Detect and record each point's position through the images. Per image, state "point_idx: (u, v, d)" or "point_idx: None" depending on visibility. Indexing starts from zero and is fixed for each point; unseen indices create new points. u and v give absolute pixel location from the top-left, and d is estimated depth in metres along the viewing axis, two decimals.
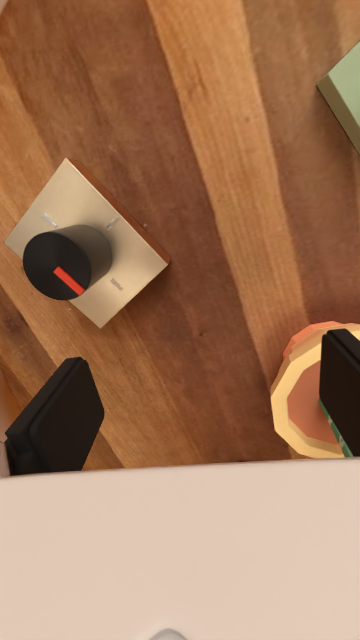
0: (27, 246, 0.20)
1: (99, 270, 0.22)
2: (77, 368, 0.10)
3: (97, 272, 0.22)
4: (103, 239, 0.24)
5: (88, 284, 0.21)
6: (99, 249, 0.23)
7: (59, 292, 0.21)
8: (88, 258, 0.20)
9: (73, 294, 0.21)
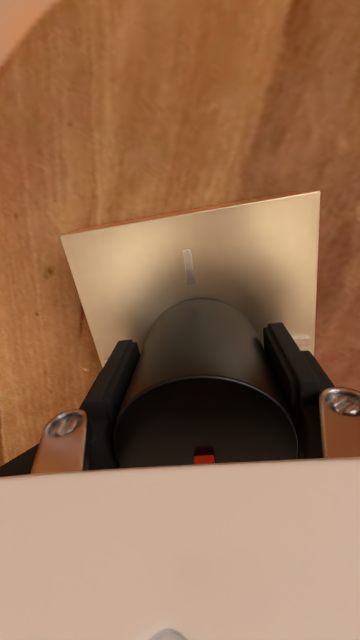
0: (178, 383, 0.07)
1: None
2: (131, 349, 0.11)
3: None
4: None
5: None
6: None
7: None
8: None
9: None
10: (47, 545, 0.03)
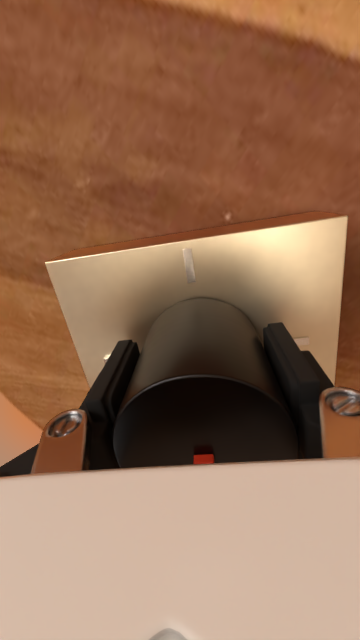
0: (179, 381, 0.07)
1: None
2: (131, 349, 0.11)
3: None
4: None
5: None
6: None
7: None
8: None
9: None
10: (47, 545, 0.03)
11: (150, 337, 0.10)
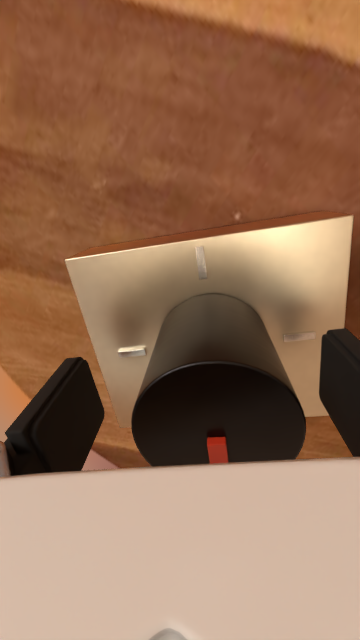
0: (195, 367, 0.07)
1: None
2: (77, 368, 0.10)
3: None
4: None
5: None
6: None
7: None
8: (294, 457, 0.08)
9: None
10: (47, 545, 0.03)
11: (164, 330, 0.11)
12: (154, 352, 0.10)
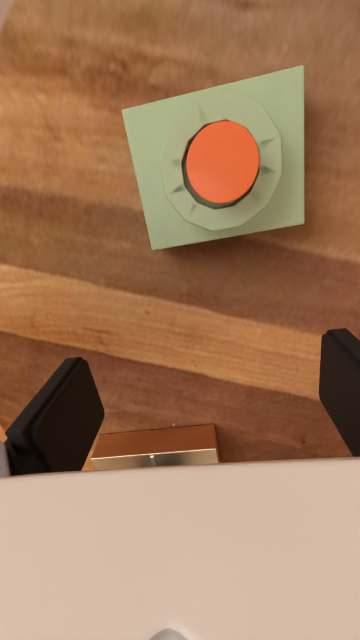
0: None
1: None
2: (77, 368, 0.10)
3: None
4: None
5: None
6: None
7: None
8: None
9: None
10: (47, 545, 0.03)
11: None
12: None
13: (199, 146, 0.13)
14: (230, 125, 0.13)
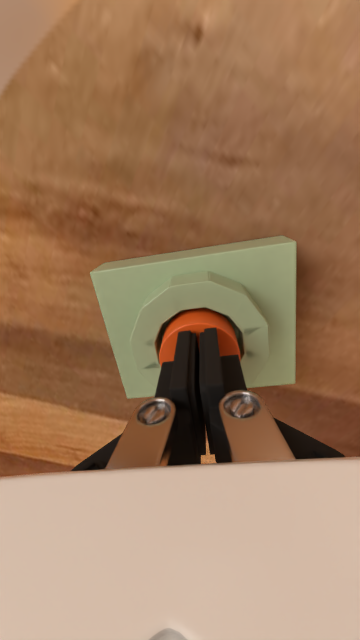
0: None
1: None
2: (194, 339, 0.11)
3: None
4: None
5: None
6: None
7: None
8: None
9: None
10: (47, 545, 0.03)
11: None
12: None
13: (173, 343, 0.12)
14: None
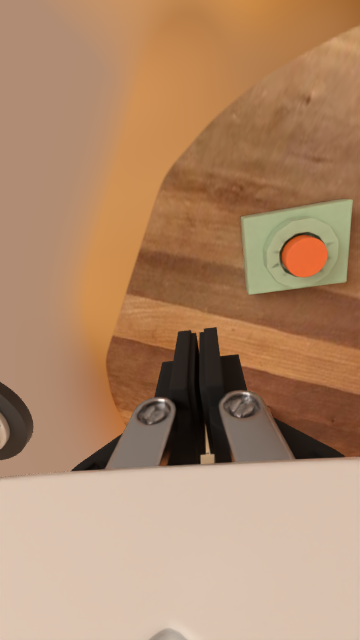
0: None
1: None
2: (194, 339, 0.11)
3: None
4: None
5: None
6: None
7: None
8: None
9: None
10: (47, 545, 0.03)
11: None
12: None
13: (295, 249, 0.25)
14: (313, 240, 0.24)
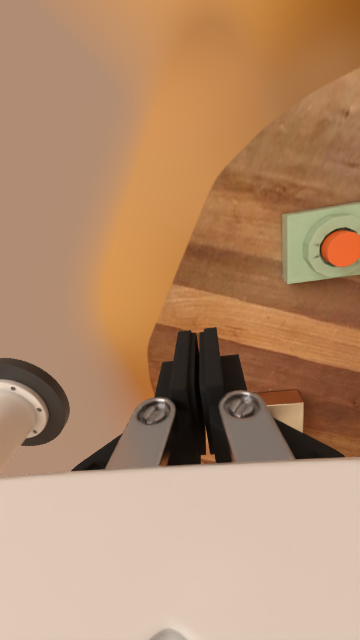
0: None
1: None
2: (194, 339, 0.11)
3: None
4: None
5: None
6: None
7: None
8: None
9: None
10: (47, 545, 0.03)
11: None
12: None
13: (336, 242, 0.28)
14: (352, 234, 0.28)
